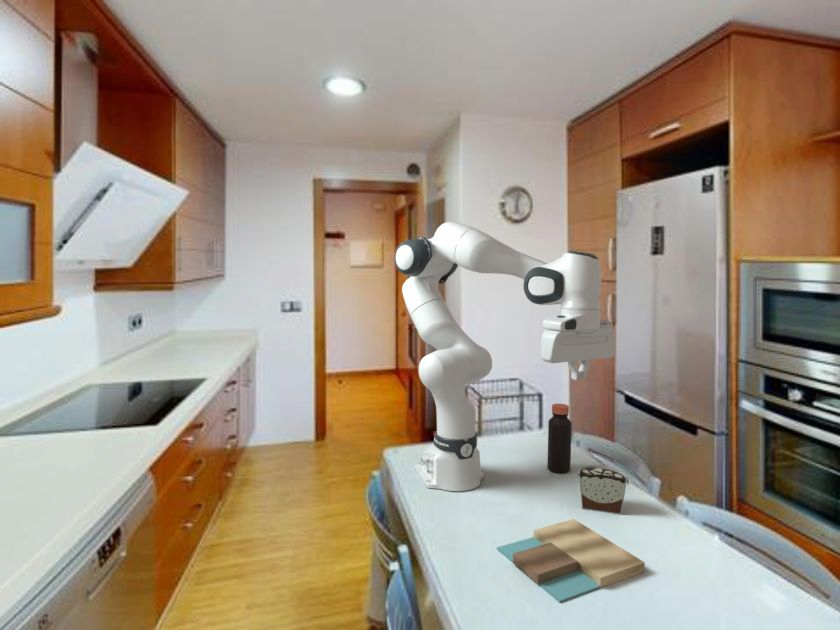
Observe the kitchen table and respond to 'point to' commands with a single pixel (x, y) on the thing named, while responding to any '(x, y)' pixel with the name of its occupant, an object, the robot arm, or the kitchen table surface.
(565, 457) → the bottle
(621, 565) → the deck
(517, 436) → the kitchen table surface
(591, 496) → the cake slice
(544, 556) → the tile
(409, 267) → the robot arm
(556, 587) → the mat
